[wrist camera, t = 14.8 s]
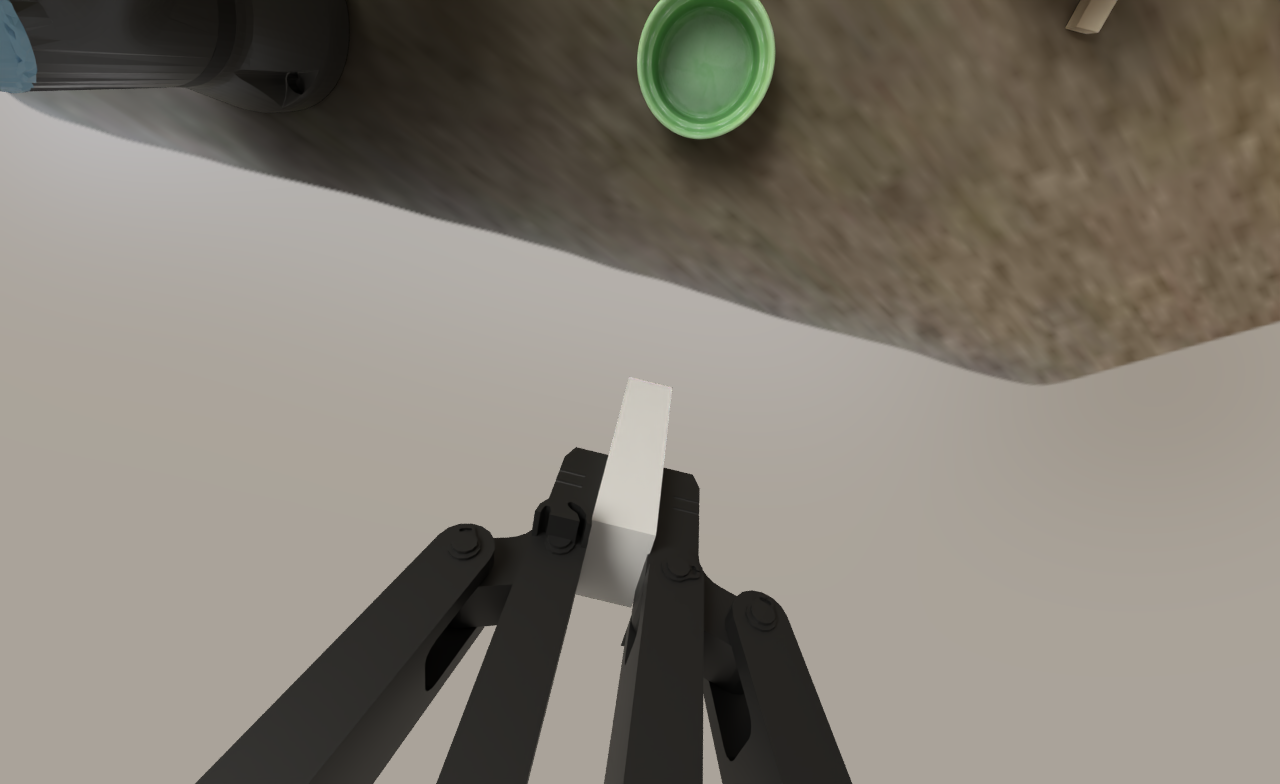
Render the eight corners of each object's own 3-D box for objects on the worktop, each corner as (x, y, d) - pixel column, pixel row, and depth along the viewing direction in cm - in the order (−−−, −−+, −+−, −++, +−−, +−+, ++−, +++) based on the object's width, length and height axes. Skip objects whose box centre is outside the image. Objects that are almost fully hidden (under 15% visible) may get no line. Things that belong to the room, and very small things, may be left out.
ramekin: (790, 11, 35) (800, 3, 31) (739, 150, 39) (742, 157, 36) (665, -34, 34) (660, -48, 30) (629, 112, 39) (621, 115, 35)
